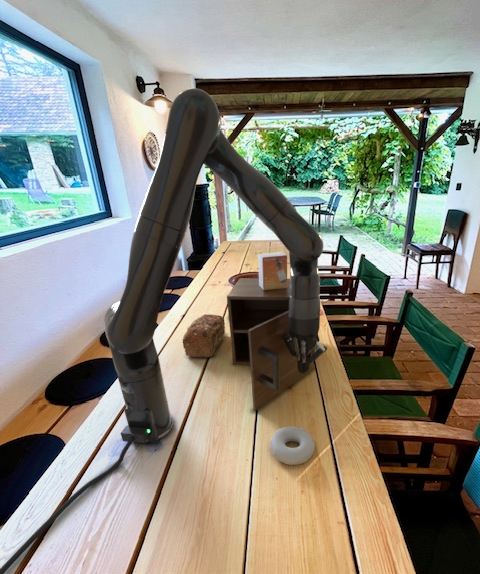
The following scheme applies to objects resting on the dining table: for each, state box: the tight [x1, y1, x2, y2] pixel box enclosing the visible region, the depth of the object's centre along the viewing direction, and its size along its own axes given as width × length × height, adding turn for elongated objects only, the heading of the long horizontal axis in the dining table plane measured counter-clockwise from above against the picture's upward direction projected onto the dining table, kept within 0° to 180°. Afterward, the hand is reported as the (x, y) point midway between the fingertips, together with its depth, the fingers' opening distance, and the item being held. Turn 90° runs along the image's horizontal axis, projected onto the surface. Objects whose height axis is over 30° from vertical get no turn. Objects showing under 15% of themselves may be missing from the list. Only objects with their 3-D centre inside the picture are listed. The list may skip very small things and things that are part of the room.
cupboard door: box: [248, 311, 315, 412], centre depth 87 cm, size 7×26×24 cm, turn 137°
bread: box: [182, 313, 226, 359], centre depth 117 cm, size 19×11×10 cm, turn 172°
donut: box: [269, 425, 316, 466], centre depth 72 cm, size 10×4×10 cm
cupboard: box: [226, 277, 290, 366], centre depth 108 cm, size 18×26×24 cm
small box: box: [257, 251, 288, 290], centre depth 100 cm, size 8×6×10 cm
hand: (303, 372), depth 85 cm, fingers closed
